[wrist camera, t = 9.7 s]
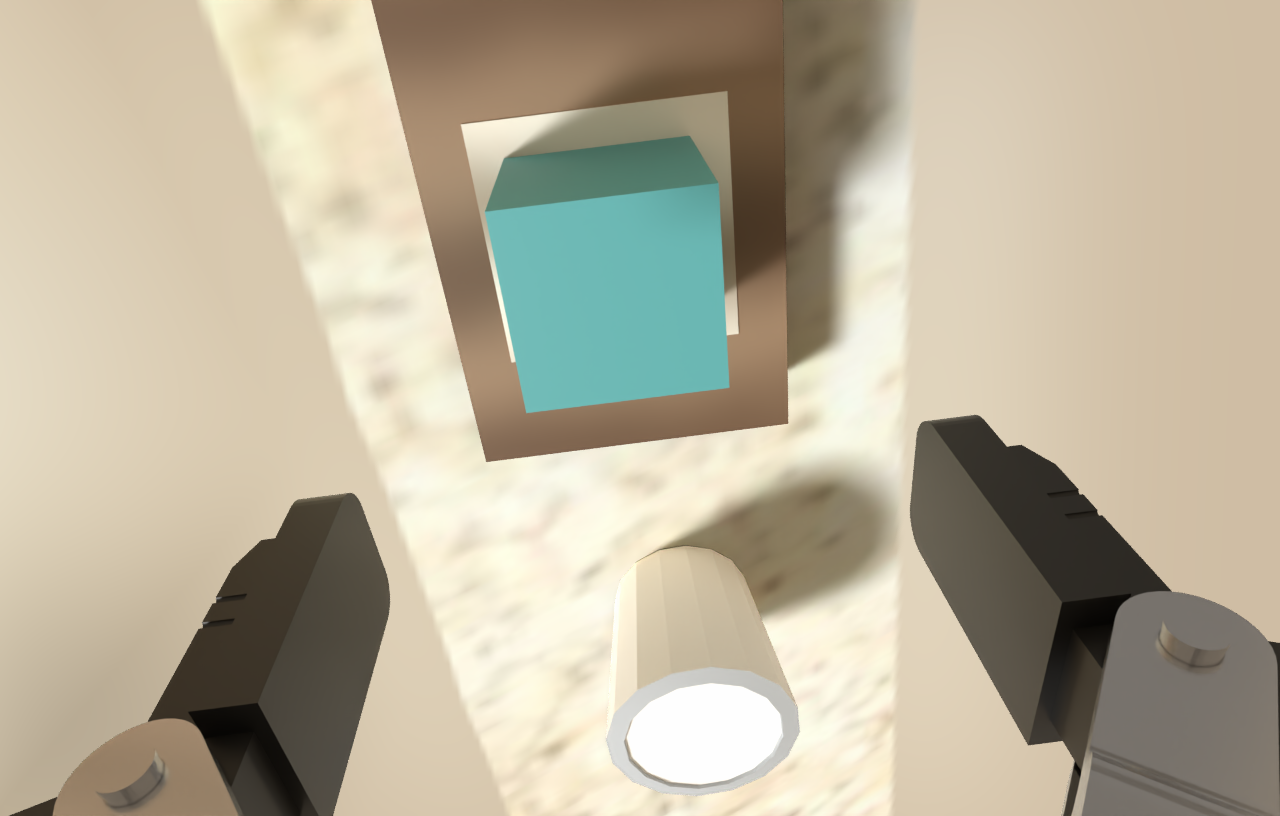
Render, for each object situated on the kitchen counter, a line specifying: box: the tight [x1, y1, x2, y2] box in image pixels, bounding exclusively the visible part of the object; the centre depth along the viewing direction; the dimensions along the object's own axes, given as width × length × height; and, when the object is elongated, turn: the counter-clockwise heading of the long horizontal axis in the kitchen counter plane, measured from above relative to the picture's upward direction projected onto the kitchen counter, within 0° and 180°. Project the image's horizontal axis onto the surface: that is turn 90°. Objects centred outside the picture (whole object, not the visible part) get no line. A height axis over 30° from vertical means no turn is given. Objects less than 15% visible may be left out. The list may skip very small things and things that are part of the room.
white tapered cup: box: [606, 546, 800, 796], centre depth 30 cm, size 7×7×7 cm
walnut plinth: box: [371, 0, 788, 462], centre depth 24 cm, size 14×10×3 cm
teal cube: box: [485, 136, 729, 413], centre depth 20 cm, size 5×5×5 cm
